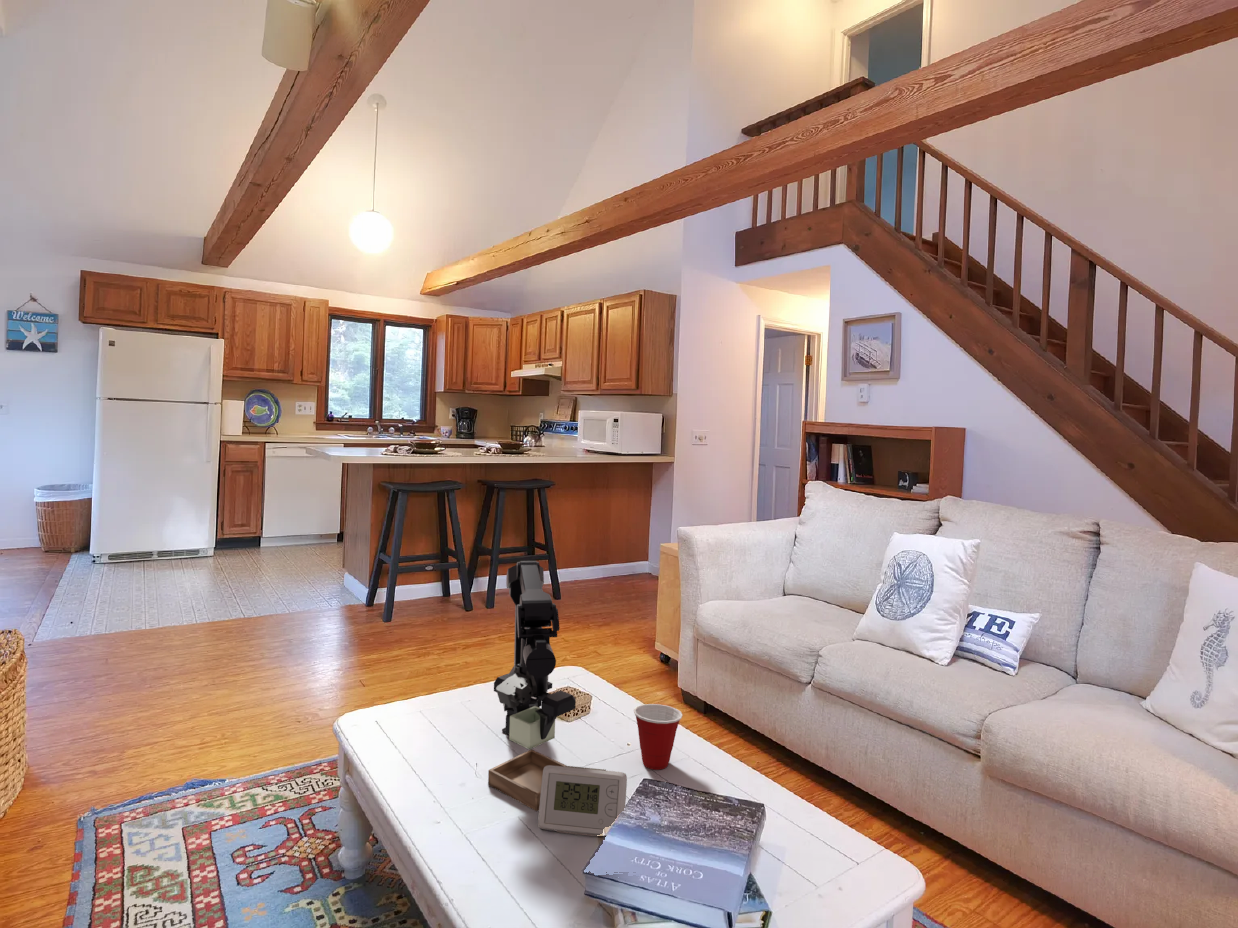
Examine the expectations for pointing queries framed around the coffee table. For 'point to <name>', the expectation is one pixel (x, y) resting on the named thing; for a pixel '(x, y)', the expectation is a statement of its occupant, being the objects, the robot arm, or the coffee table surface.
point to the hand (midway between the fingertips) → (532, 733)
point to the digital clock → (580, 799)
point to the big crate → (522, 777)
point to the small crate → (528, 728)
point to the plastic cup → (656, 733)
